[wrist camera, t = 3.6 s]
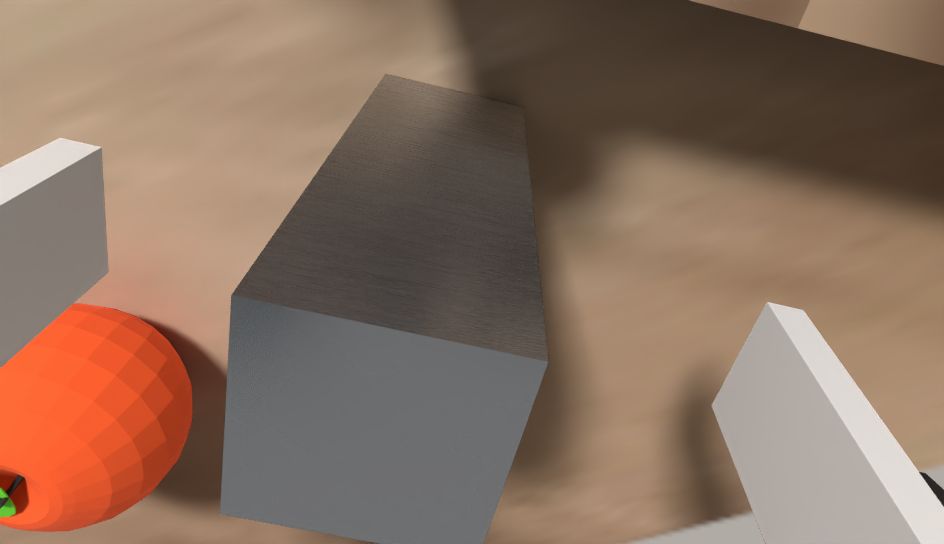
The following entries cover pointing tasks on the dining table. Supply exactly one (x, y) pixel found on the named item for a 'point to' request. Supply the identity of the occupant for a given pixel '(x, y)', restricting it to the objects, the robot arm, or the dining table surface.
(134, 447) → the clementine
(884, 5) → the socket block
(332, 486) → the square bit
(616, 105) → the dining table surface
